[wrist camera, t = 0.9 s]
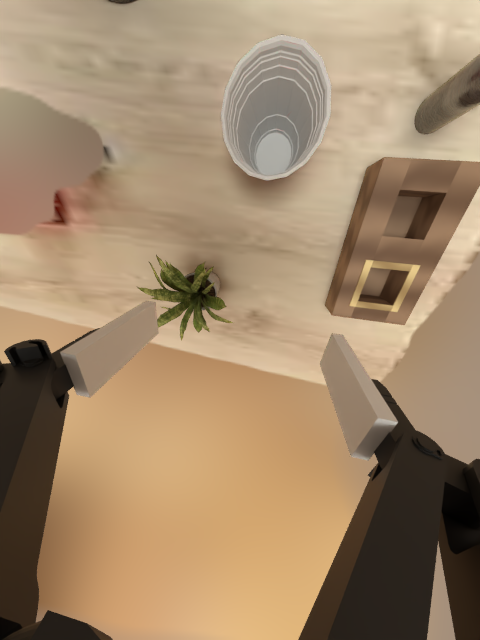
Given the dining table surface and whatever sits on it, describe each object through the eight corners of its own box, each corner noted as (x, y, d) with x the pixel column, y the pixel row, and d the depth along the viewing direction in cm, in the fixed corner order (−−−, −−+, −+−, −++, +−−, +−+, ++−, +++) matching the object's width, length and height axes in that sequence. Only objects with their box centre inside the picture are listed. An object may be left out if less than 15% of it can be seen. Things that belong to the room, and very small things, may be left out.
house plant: (250, 248, 36) (235, 263, 21) (245, 315, 42) (231, 362, 27) (178, 242, 37) (118, 253, 23) (183, 307, 44) (139, 348, 29)
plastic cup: (318, 104, 26) (349, 21, 16) (302, 197, 31) (318, 182, 20) (240, 105, 27) (220, 29, 17) (237, 194, 32) (219, 179, 22)
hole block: (367, 168, 28) (385, 156, 24) (455, 173, 27) (493, 162, 22) (325, 304, 38) (332, 315, 34) (388, 313, 37) (405, 325, 32)
